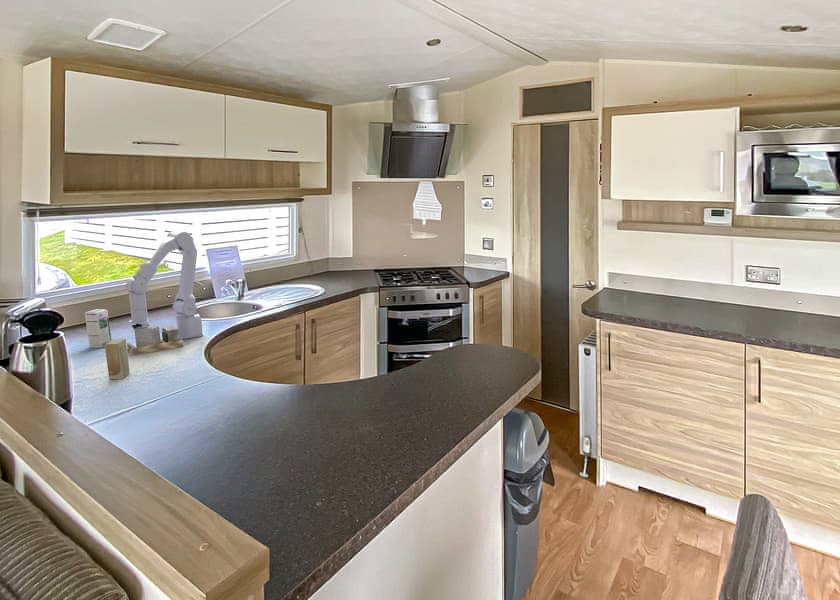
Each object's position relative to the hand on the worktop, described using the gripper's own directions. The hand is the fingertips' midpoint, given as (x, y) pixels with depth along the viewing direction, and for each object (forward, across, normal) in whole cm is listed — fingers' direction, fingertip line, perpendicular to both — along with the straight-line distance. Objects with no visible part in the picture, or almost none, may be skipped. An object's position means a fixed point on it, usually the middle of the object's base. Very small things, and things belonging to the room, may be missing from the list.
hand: (142, 342), depth 224 cm
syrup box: (+2, -11, -13) cm, 17 cm away
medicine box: (+2, +7, +1) cm, 7 cm away
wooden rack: (+1, +7, +2) cm, 8 cm away
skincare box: (+2, +37, -16) cm, 41 cm away
